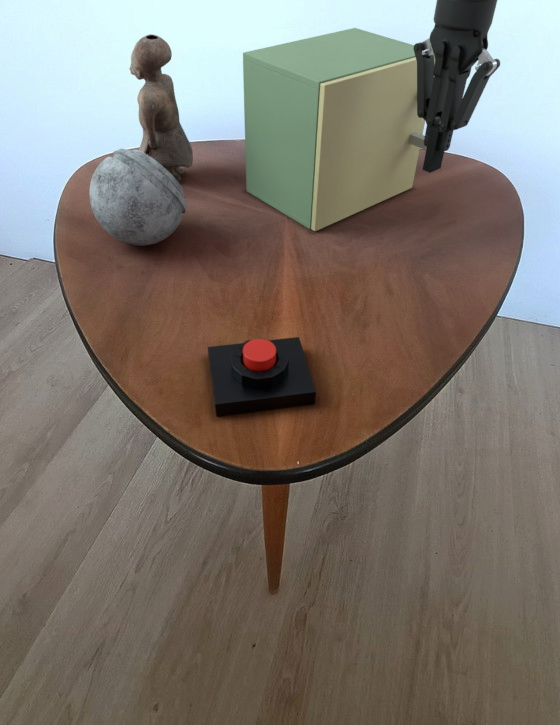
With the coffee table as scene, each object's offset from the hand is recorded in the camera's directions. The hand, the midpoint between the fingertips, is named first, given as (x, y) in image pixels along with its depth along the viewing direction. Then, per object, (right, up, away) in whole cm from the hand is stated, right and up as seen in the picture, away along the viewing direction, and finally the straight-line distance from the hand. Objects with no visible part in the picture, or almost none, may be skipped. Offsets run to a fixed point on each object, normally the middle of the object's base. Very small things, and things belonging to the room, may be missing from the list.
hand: (431, 168), depth 87 cm
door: (-6, -3, +14) cm, 15 cm away
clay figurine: (-46, +6, +23) cm, 51 cm away
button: (-26, -30, -19) cm, 44 cm away
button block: (-26, -33, -17) cm, 45 cm away
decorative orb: (-47, -10, +7) cm, 48 cm away
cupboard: (-15, +3, +20) cm, 25 cm away
